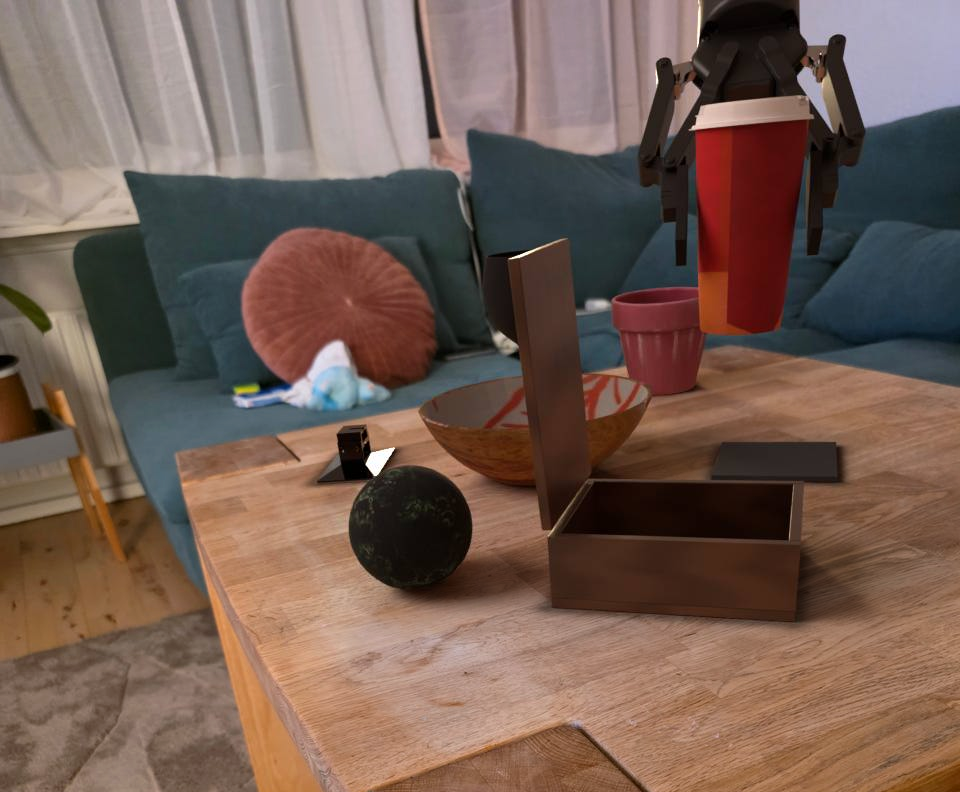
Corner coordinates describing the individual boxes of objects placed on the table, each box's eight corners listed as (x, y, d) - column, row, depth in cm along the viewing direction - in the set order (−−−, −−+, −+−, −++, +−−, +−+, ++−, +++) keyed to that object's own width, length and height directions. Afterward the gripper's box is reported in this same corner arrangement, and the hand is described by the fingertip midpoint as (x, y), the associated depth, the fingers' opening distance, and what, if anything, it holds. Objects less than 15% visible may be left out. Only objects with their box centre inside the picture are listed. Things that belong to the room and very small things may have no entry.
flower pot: (670, 403, 120) (671, 303, 114) (593, 393, 130) (590, 300, 124) (733, 382, 128) (737, 287, 122) (656, 373, 138) (656, 285, 132)
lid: (568, 238, 68) (558, 239, 68) (518, 257, 57) (507, 259, 57) (591, 473, 76) (582, 473, 77) (552, 530, 65) (541, 531, 65)
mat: (835, 447, 97) (836, 441, 96) (837, 482, 87) (837, 476, 87) (722, 447, 101) (722, 441, 100) (711, 480, 91) (711, 475, 90)
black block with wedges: (376, 481, 102) (369, 441, 100) (314, 485, 103) (306, 446, 100) (395, 449, 113) (389, 413, 110) (339, 453, 114) (332, 417, 111)
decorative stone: (355, 617, 70) (334, 495, 65) (361, 568, 79) (343, 457, 74) (482, 602, 70) (469, 480, 65) (474, 555, 79) (462, 444, 74)
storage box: (798, 548, 74) (804, 480, 71) (794, 622, 62) (800, 545, 60) (589, 541, 79) (587, 478, 77) (551, 607, 68) (547, 536, 65)
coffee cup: (809, 319, 69) (830, 94, 62) (777, 339, 63) (795, 93, 56) (706, 317, 73) (714, 107, 66) (666, 336, 68) (670, 107, 61)
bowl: (630, 512, 85) (629, 429, 81) (391, 506, 93) (379, 430, 89) (669, 438, 106) (669, 369, 102) (470, 439, 114) (464, 375, 110)
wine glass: (477, 407, 129) (464, 258, 120) (529, 391, 135) (519, 248, 125) (527, 415, 122) (517, 257, 112) (579, 399, 127) (573, 247, 118)
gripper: (885, 28, 70) (898, 271, 64) (614, 65, 75) (601, 293, 69) (906, -70, 63) (923, 191, 57) (606, -22, 68) (590, 223, 62)
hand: (746, 247), depth 63 cm, fingers closed on coffee cup, 8 cm apart
